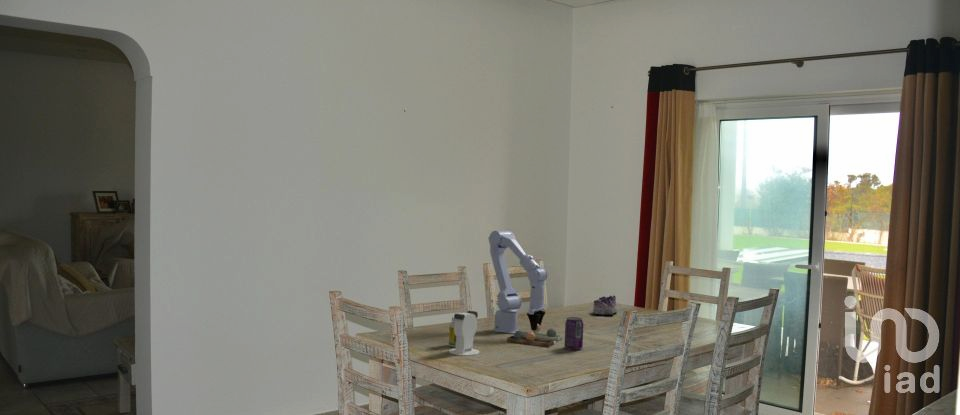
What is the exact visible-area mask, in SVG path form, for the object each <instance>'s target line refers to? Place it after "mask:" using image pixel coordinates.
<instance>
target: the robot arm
mask: <svg viewBox="0 0 960 415" xmlns="http://www.w3.org/2000/svg"><path fill="white" fill-rule="evenodd" d="M488 242H489V253H490V257H491V260H492V264H493V268H494V272H495V276H496V280H497V283H498V287H499V291H498V294H497V295H496V298H497V308H498V309H497V310H496V311H495V313H494V326H493V332H496V333H497V332H498V333H504V334H505V333H506V334H512V335H514V333H515V332H516V331H521V330H520V329H518V315H519V314H518V312H519V311H520V310H519V309H520V308H521V307H522V302H523V301H522V299H521V296H520V295H519V293H518V291H517V290H516V289H515V288H513V285H512V281H511V277H510V272H509V270H508V266H507V262H506V259H505V254H504V253H505V251H506V250H507V249H508V248H509V250H511V251H512V253H513V254H515V256H516V257H517V258H518V259H519V264H520V266H521V267H522V268H523V270H524V271H525V272H526V273H527V278H528V281H529V286H530V291H529V293H530V294H529V308H528V311H527V312H526V316H527V318H528V320H529V326H530V329H531V331H532V330H537V326H538V324H539V325H540V326H542V322H543V319H544V317H545V314H546V311H547V307H545V305H544V301H545V300H544V298H545V281H546V280H547V279H548V276H549V275H548V274H549V273H548V271H547V270H546V268H545V267H543V266H540V264H538V263H537V261H535V260H534V256H533V255H531V254H527V253H526V251H525V250H524V249H523V248H522V246H521V245H520V243H519V242H518V241H517V240H516V235H515V234H514V233H513V231H511V230H509V229H507V230H493V231H491V233H489V236H488Z"/></svg>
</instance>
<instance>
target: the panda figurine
mask: <svg viewBox="0 0 960 415" xmlns="http://www.w3.org/2000/svg"><path fill="white" fill-rule="evenodd" d="M478 315H479V314H478V311H474V310H467V312H460V313H454V314H453V316H454V319H455V323H454V333H455V337H454V341H455V342H456V347H454V348H452V349H449V354H451V353H452V354H451V355H454V354H455V356H461V355H463V356H469V357H470V356H471V355H472V356H476V355H479V354H480V350H478V349H475V348H473V346H474V337H475V334H476V333H477V330H478V320H477V318H478Z"/></svg>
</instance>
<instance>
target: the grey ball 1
mask: <svg viewBox="0 0 960 415" xmlns="http://www.w3.org/2000/svg"><path fill="white" fill-rule="evenodd" d="M522 331H523V330H520V331H516V332H515V333H514V334H513V336H514V338H515V339H520V340H522V339H523V338H524V334H523V332H522Z"/></svg>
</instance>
